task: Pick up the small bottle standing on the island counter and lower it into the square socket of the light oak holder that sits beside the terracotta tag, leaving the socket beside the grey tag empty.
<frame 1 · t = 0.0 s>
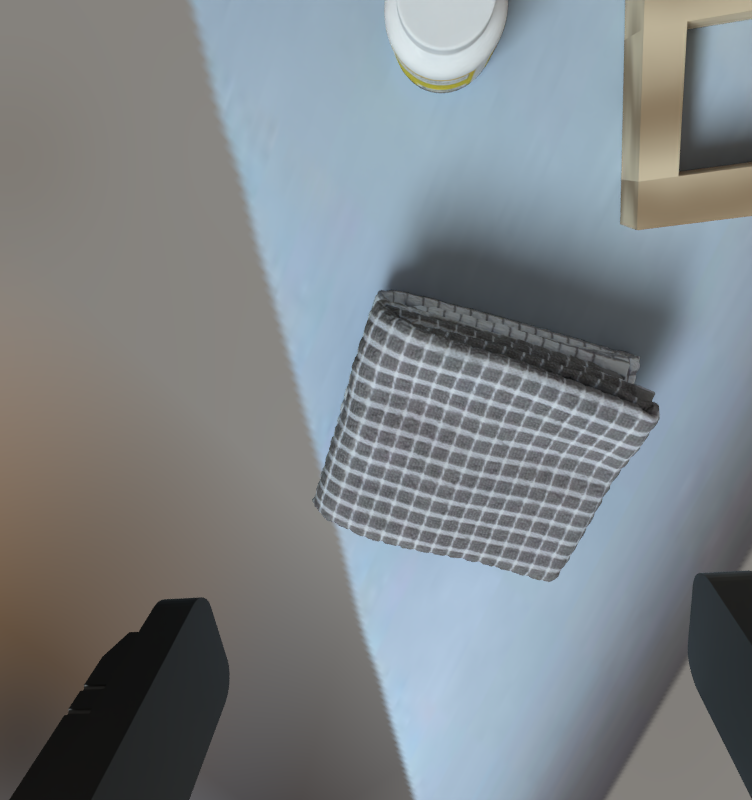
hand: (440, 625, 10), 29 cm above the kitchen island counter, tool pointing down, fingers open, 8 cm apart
supplement bottle: (442, 39, 32), on the kitchen island counter
towel: (473, 416, 41), on the kitchen island counter
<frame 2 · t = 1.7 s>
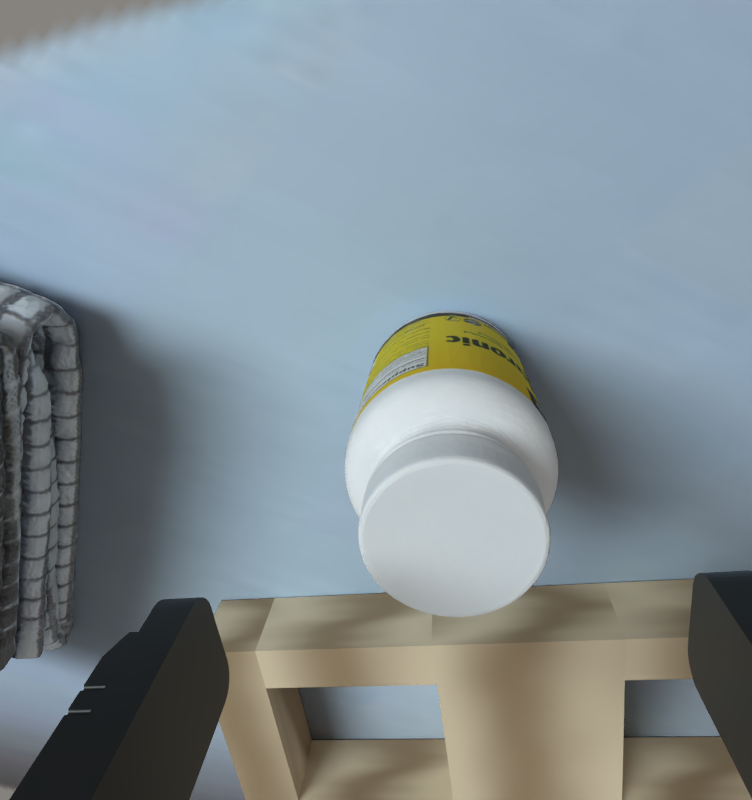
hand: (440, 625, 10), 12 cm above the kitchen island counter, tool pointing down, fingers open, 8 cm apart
socket holder: (523, 700, 27), on the kitchen island counter
supplement bottle: (445, 377, 21), on the kitchen island counter
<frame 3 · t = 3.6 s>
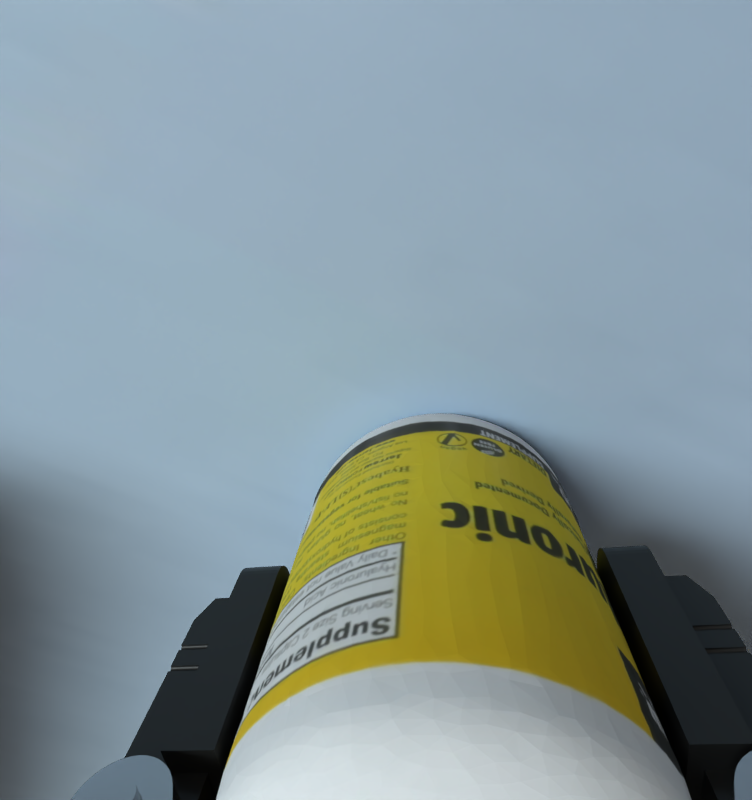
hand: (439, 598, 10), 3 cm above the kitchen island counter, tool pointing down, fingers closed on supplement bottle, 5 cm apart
supplement bottle: (439, 512, 13), on the kitchen island counter, touching gripper
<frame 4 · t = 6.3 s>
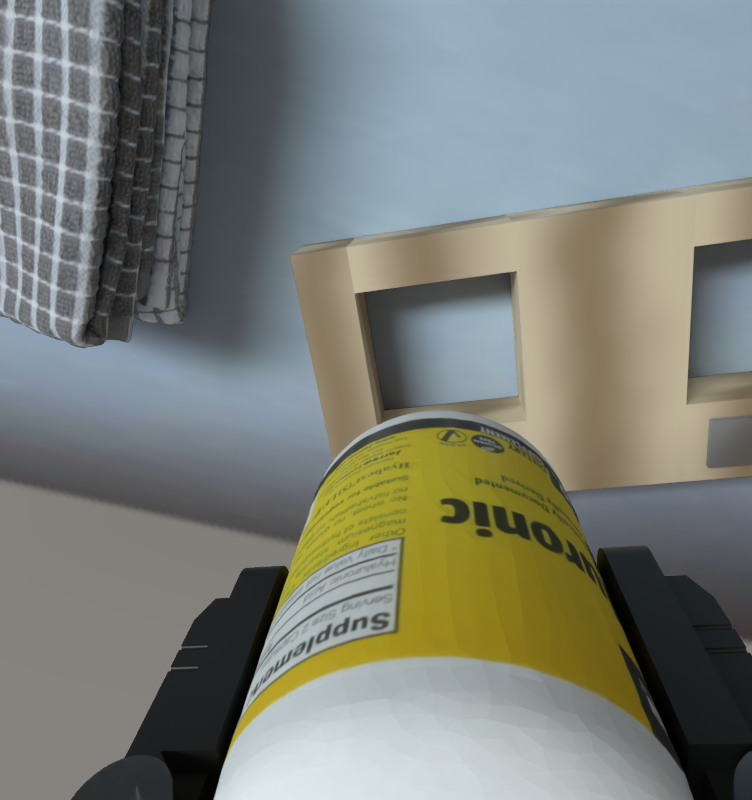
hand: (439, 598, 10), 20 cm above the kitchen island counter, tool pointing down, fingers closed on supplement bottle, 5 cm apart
socket holder: (588, 341, 28), on the kitchen island counter
supplement bottle: (438, 509, 13), point 17 cm above the kitchen island counter, touching gripper
towel: (50, 109, 27), on the kitchen island counter
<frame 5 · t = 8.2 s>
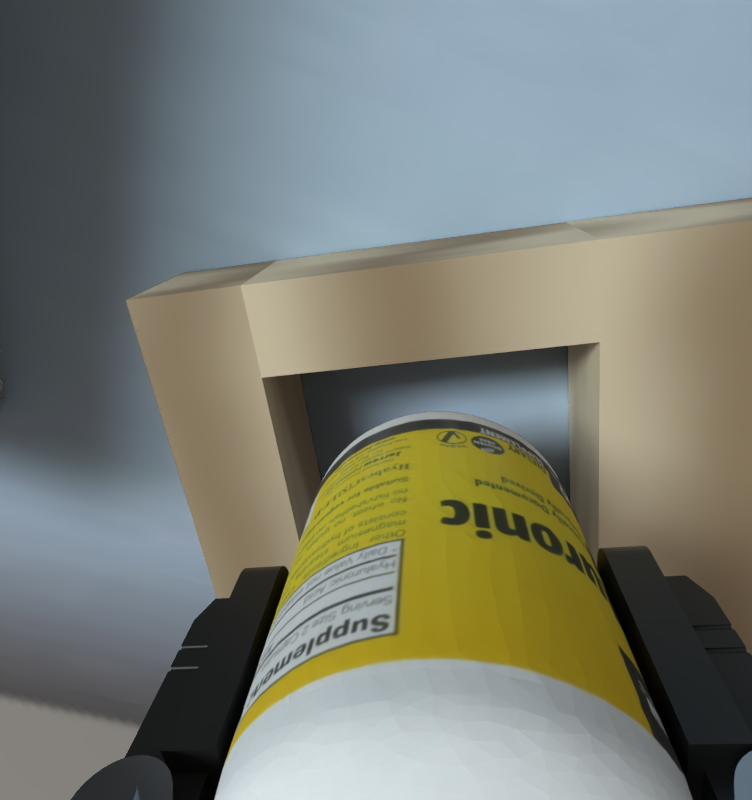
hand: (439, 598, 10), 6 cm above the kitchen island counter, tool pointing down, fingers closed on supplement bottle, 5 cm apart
socket holder: (704, 455, 15), on the kitchen island counter
supplement bottle: (438, 510, 13), point 4 cm above the kitchen island counter, touching gripper
when the fingers open (4 cm above the kitchen island counter, at t = 9.4 s): supplement bottle drops 2 cm, resting in socket holder.
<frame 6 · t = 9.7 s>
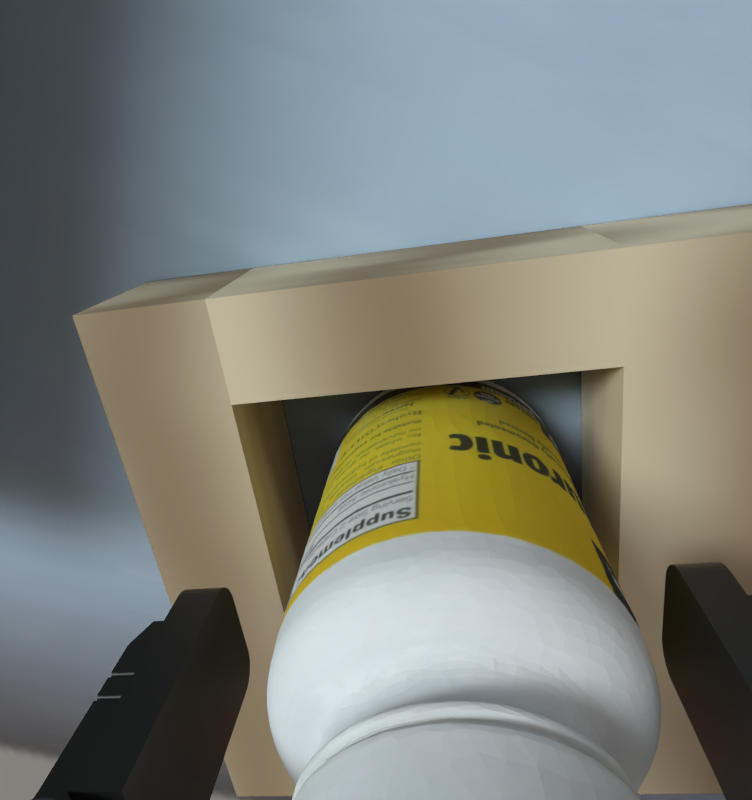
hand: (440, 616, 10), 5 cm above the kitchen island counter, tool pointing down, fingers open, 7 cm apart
socket holder: (733, 486, 14), on the kitchen island counter
supplement bottle: (444, 464, 15), resting in socket holder
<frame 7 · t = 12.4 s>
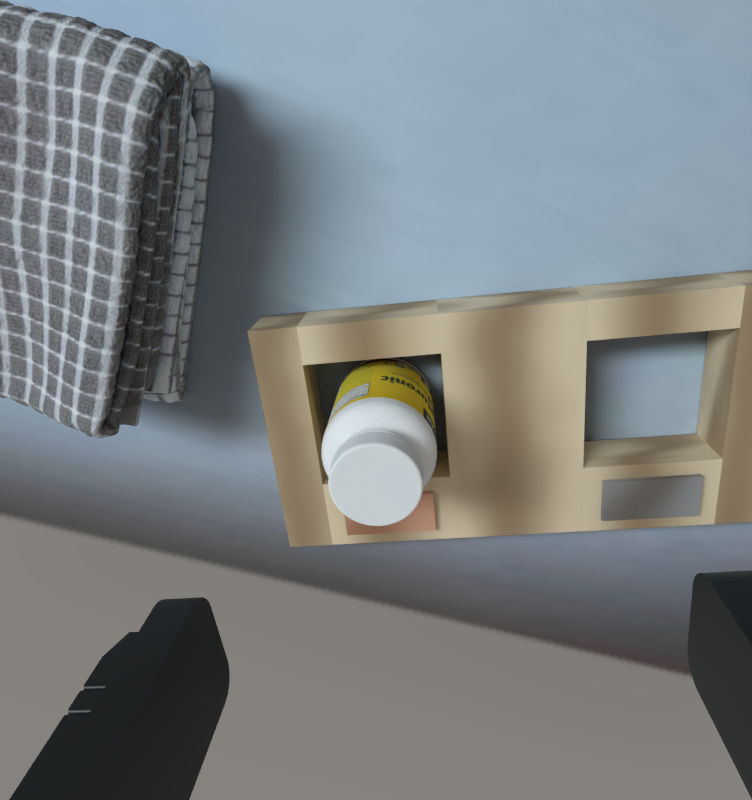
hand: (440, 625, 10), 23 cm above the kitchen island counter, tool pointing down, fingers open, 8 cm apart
socket holder: (506, 407, 33), on the kitchen island counter
supplement bottle: (385, 397, 33), resting in socket holder
towel: (68, 218, 31), on the kitchen island counter
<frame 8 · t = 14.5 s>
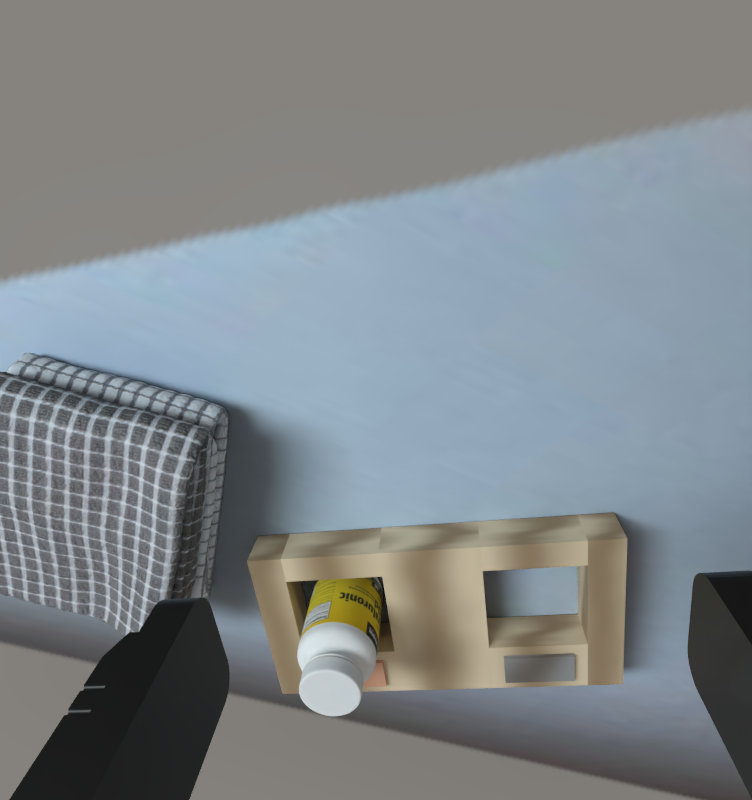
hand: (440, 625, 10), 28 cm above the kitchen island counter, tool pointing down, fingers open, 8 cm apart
socket holder: (437, 594, 45), on the kitchen island counter
supplement bottle: (349, 586, 45), resting in socket holder
towel: (128, 478, 44), on the kitchen island counter
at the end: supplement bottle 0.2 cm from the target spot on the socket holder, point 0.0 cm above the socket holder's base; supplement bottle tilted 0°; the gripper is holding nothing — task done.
